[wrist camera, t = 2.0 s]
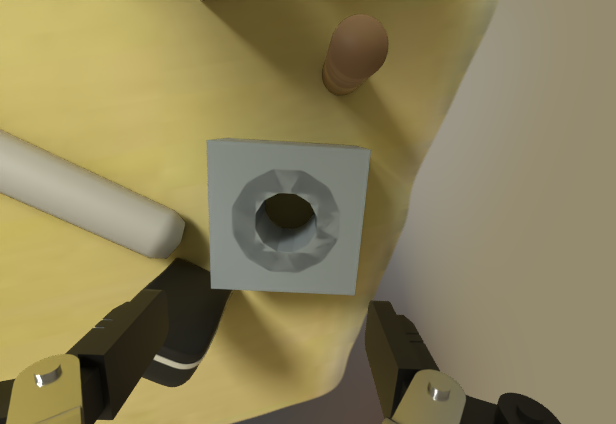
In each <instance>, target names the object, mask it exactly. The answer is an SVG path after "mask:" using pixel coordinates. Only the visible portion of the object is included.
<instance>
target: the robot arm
mask: <svg viewBox="0 0 616 424" xmlns="http://www.w3.org/2000/svg"><path fill="white" fill-rule="evenodd" d="M168 330H169V319H168V305H167V294H166V292H165V291H164V290H149V289H144V290H142V291H141V292H140V293H139V294H138V295H137V296H136V297H135V298H134V299H133V300H132V301H131V302H125V303H124V304H122V305H120V306H118V307H116V308H114V309H113V310H112V311H111V312H110V313H108V314H107V315H106V316H105V317H104V318H103V320H101V321H100V322H99V323H98V324H97V325H96V326H95V328H92V329H91V330H90V331H89V332H88V333H87V334H86V335H85V336H84V337H83V338H82V339H81V340H80V341H78V342H77V343H76V344H75V345H74V346H73V347H72V348H71V349H70V350H69V351H68V352H67V353H66V354H61V355H55V356H51V357H48V358H45V359H42V360H40V361H38V362H36V363H34V364H32V365H30V366H29V367H27V368H26V369H25V370H23V371H22V372H21V373H20V374H19V375H18V376H17V378H16V379H12V380H6V381H1V382H0V424H94V423H95V422H96V420H113V419H114V418H115V416H116V415H117V413H118V412H119V410H120V409H121V407H122V406H123V404H124V403H125V401H126V400H127V398H128V397H129V395H130V394H131V392H132V391H133V389H134V388H135V386H136V385H137V383H138V382H139V380H140V378H141V377H142V375H143V374H144V372H145V371H146V369H147V368H148V366H149V365H150V363H151V362H152V360H153V359H154V357H155V356H156V354H157V353H158V351H159V350H160V348H161V347H162V345H163V344H164V342H165V340H166V338H167V335H168ZM365 348H366V353H367V357H368V360H369V364H370V368H371V371H372V375H373V378H374V382H375V385H376V389H377V393H378V397H379V400H380V404H381V408H382V411H383V415H384V421H383V423H382V424H561V423H560V422H559V420H558V419H557V418H556V417H555V416H554V415H553V414H552V413H551V412H550V411H549V410H548V409H547V408H546V407H544V406H543V405H542V404H540V403H538V402H537V401H535V400H533V399H531V398H529V397H527V396H524V395H521V394H517V393H505V394H503V395H501V396H500V398H499V401H498V404H497V405H496V404H492V403H489V402H486V401H483V400H479V399H476V398H473V397H469V396H467V395H465V392H464V390H463V389H462V387H461V386H460V385H459V384H458V383H457V382H456V381H455V380H454V379H453V378H451V377H450V376H448V375H446V374H445V373H442V372H440V370H439V368H438V367H437V365H436V363H435V361H434V360H433V358H432V356H431V354H430V352H429V351H428V349H427V347H426V345H425V344H424V343H423V340H422V338H421V336H420V335H419V333H418V331H417V329H416V327H415V326H414V324H413V323H412V322H411V321H410V320H409V319H407V318H406V317H405V316H404V315H396V313H395V311H394V309H393V307H392V305H391V303H390V302H389V301H370V303H369V307H368V315H367V323H366V332H365Z"/></svg>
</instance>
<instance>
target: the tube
mask: <svg viewBox="0 0 616 424" xmlns="http://www.w3.org/2000/svg"><path fill="white" fill-rule="evenodd" d="M0 193H2V194H4V195H7V196H9V197H11V198H13V199H16V200H18V201H20V202H23V203H25V204H27V205H29V206H32V207H34V208H36V209H39V210H41V211H43V212H45V213H48V214H50V215H52V216H55V217H57V218H59V219H61V220H64V221H66V222H68V223H71V224H73V225H75V226H77V227H80V228H82V229H84V230H87V231H89V232H91V233H94V234H96V235H98V236H100V237H103V238H105V239H107V240H110V241H112V242H114V243H116V244H119V245H121V246H123V247H126V248H128V249H130V250H132V251H135V252H137V253H139V254H142V255H144V256H146V257H148V258H168V257H169V256H170V254H171V253H172V252H173V251H174V250H175V249H176V247H177V246H178V245H179V244H180V243H181V240H182V235H183V231H184V227H185V222H184V221H183V219H182V218H181V217H180V216H179V215H178V214H177V212H176V211H174V210H172V209H170V208H168V207H166V206H163V205H161V204H159V203H157V202H155V201H153V200H151V199H148V198H146V197H144V196H142V195H140V194H138V193H135V192H133V191H131V190H129V189H127V188H125V187H123V186H120V185H118V184H116V183H114V182H112V181H110V180H108V179H105V178H103V177H101V176H99V175H97V174H95V173H92V172H90V171H88V170H86V169H84V168H82V167H80V166H77V165H75V164H73V163H71V162H69V161H67V160H65V159H62V158H60V157H58V156H56V155H54V154H52V153H50V152H47V151H45V150H43V149H41V148H39V147H37V146H34V145H32V144H30V143H28V142H26V141H24V140H22V139H19V138H17V137H15V136H13V135H11V134H9V133H7V132H4V131H2V130H0Z"/></svg>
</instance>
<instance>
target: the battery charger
mask: <svg viewBox="0 0 616 424" xmlns="http://www.w3.org/2000/svg"><path fill="white" fill-rule="evenodd" d="M144 289H149V290H164V291H165V292H166V294H167V305H168V319H169V330H168V335H167V338H166V340H165V342H164V344H163V345H162V347H161V348H160V350H159V351H158V353H157V354H156V356H155V357H154V359H153V360H152V362H151V363H150V365H149V366H148V368H147V369H146V371H145V372H144V374H143V375H142V377H143V378H145V379H148V380H151V381H153V382H156V383H158V384H161V385H164V386H168V387H177V386H180V385H182V384H184V383H185V382H186V381H188V380H189V379H190V378H191V376H192V375H193V373H194V372H195V370H196V369H197V367H198V365H199V363H200V362H201V361H202V360H203V358H204V357H205V355H206V353H207V351H208V349H209V347H210V345H211V343H212V341H213V339H214V337H215V334H216V332H217V329H218V327H219V324H220V322H221V319H222V316H223V313H224V310H225V307H226V305H227V302H228V300H229V298H230V296H231V294H232V292H233V290H232V289H211V272H209V271H207V270H204V269H202V268H200V267H198V266H196V265H194V264H192V263H189V262H187V261H185V260H183V259H180V258H176V259H175V260H174V261H173V262H172V263H171V264H170V265H169V266H168V267H167V268H166V269H165V270H164V271H163V272H162V273H161V274H160V275H159V276H157V277H156V278H155V279H154V280H153V281H152V282H150V283H149V284H148V285H147V286H146V287H145V288H144ZM144 289H143V290H144ZM141 291H142V290H141ZM141 291H140V292H141ZM140 292H139V293H140ZM139 293H138V294H139ZM138 294H137V295H138ZM137 295H136V296H137ZM136 296H135V297H136ZM135 297H134V298H135ZM134 298H133V299H134ZM133 299H132V300H133ZM132 300H131V301H132ZM131 301H130V302H131Z"/></svg>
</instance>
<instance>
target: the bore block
mask: <svg viewBox="0 0 616 424" xmlns="http://www.w3.org/2000/svg"><path fill="white" fill-rule="evenodd" d="M370 154H371V150H369V149H366V148H363V147H359V146H352V145H335V144H318V143H301V142H285V141H268V140H251V139H235V138H223V139H214V140H207V167H208V202H209V237H210V272H211V289H232V290H253V291H274V292H295V293H316V294H336V295H355V289H356V280H357V271H358V262H359V253H360V244H361V235H362V226H363V217H364V208H365V199H366V190H367V181H368V172H369V163H370ZM278 193H289V194H297V195H298V196H300V197H301V198H303V199H305V200H306V201H308V202H309V203H310V204H311V206H312V208H313V210H314V213H313V215H312V216H311V218H310V219H309V221H308V222H307V223H306V224H304V225H302V226H300V227H298V228H296V229H291V228H282V227H280V226H278V225H277V224H275V223H273V222H272V221H271V220H270V218H269V216H268V214H267V213H266V211H265V200H266V199H268V198H270V197H272V196H274V195H276V194H278Z"/></svg>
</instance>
